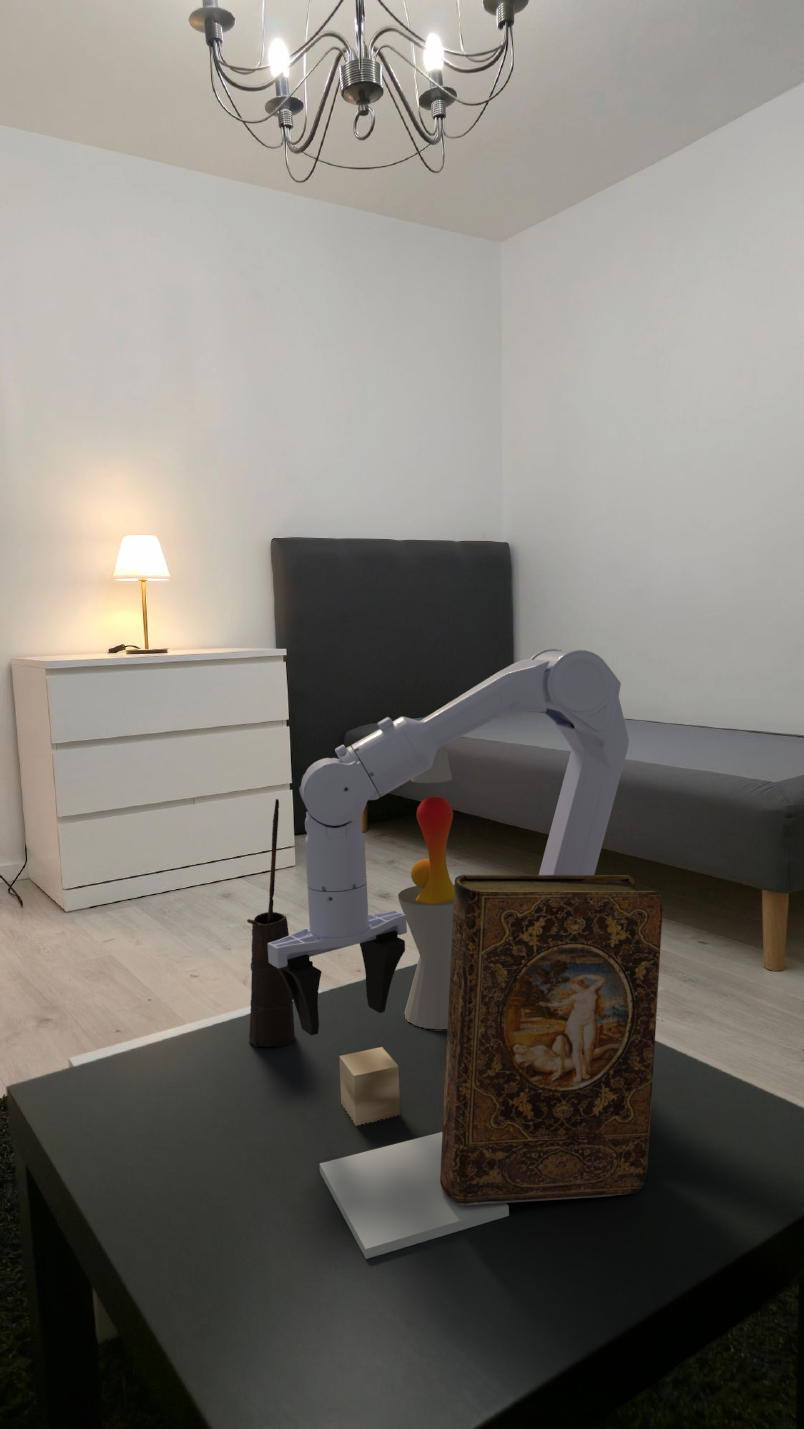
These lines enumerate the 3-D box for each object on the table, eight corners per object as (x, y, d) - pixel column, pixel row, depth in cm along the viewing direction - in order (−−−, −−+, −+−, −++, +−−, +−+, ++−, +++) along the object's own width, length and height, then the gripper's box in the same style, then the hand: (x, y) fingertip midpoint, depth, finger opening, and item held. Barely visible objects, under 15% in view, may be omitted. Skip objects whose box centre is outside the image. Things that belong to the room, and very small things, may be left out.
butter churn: (239, 1069, 98) (225, 813, 95) (214, 1036, 106) (200, 800, 104) (318, 1049, 102) (306, 803, 99) (288, 1018, 110) (277, 791, 108)
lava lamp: (492, 1012, 110) (483, 725, 107) (443, 1038, 104) (432, 733, 100) (436, 993, 116) (427, 722, 113) (386, 1017, 110) (375, 729, 107)
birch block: (383, 1094, 92) (381, 1046, 91) (400, 1115, 87) (398, 1066, 87) (341, 1104, 90) (339, 1055, 89) (356, 1126, 86) (353, 1076, 85)
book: (448, 1206, 71) (464, 892, 69) (434, 1167, 76) (448, 874, 75) (645, 1194, 74) (665, 891, 72) (618, 1157, 79) (635, 875, 78)
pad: (446, 1139, 83) (445, 1131, 83) (509, 1215, 72) (508, 1206, 72) (319, 1172, 78) (319, 1163, 78) (365, 1259, 67) (365, 1249, 67)
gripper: (377, 862, 95) (383, 988, 96) (250, 890, 86) (258, 1027, 88) (416, 875, 89) (422, 1009, 90) (284, 906, 81) (293, 1053, 82)
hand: (344, 1019), depth 89 cm, fingers open, 7 cm apart
